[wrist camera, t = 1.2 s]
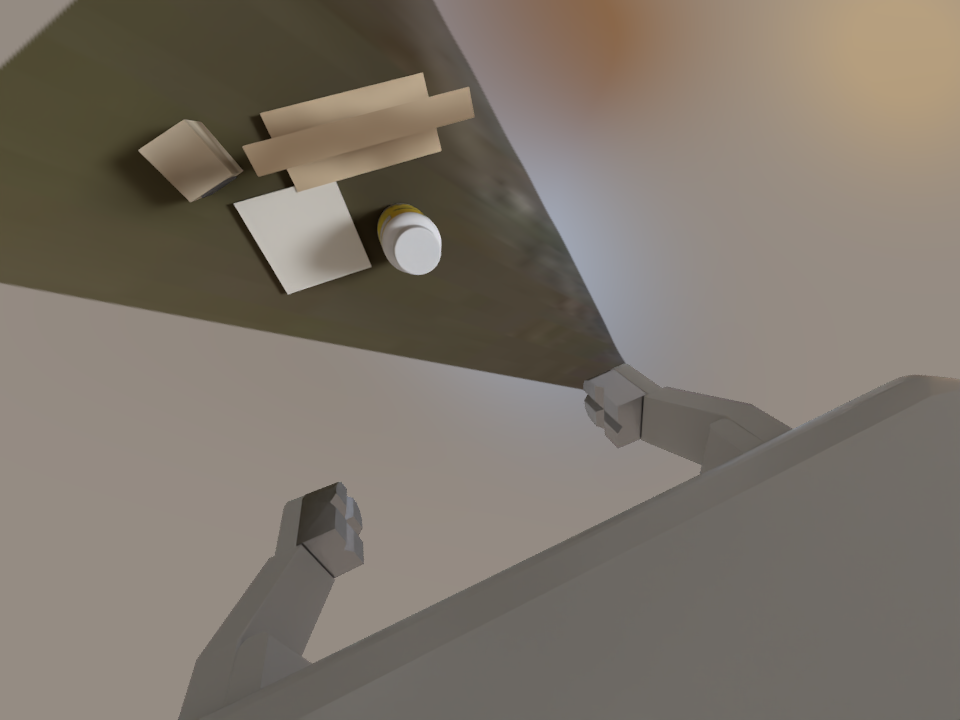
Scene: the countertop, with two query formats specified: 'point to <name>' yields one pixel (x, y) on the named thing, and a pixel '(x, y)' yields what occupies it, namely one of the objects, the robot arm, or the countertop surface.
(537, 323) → the countertop surface
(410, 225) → the supplement bottle
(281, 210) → the coaster
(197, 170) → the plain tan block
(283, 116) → the tan t-shaped stand
